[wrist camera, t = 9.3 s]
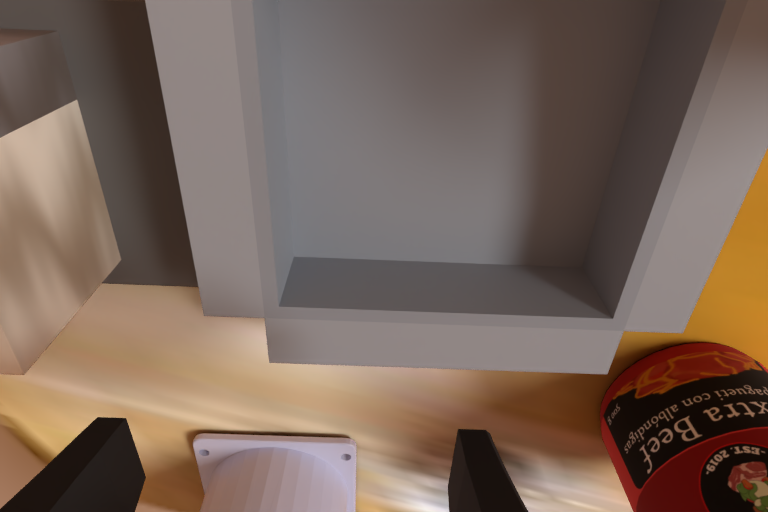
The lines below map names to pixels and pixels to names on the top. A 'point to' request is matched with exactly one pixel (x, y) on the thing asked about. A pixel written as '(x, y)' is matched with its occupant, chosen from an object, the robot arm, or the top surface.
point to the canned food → (690, 430)
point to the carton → (460, 170)
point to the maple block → (45, 200)
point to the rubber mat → (122, 129)
